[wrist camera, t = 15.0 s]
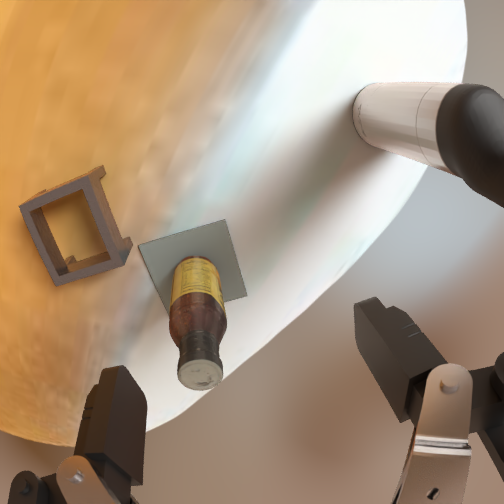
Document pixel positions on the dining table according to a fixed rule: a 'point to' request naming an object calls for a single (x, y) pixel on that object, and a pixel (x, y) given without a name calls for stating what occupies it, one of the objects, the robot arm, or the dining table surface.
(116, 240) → the grey square frame stand
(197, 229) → the slate mat
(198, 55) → the dining table surface
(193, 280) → the sauce bottle
